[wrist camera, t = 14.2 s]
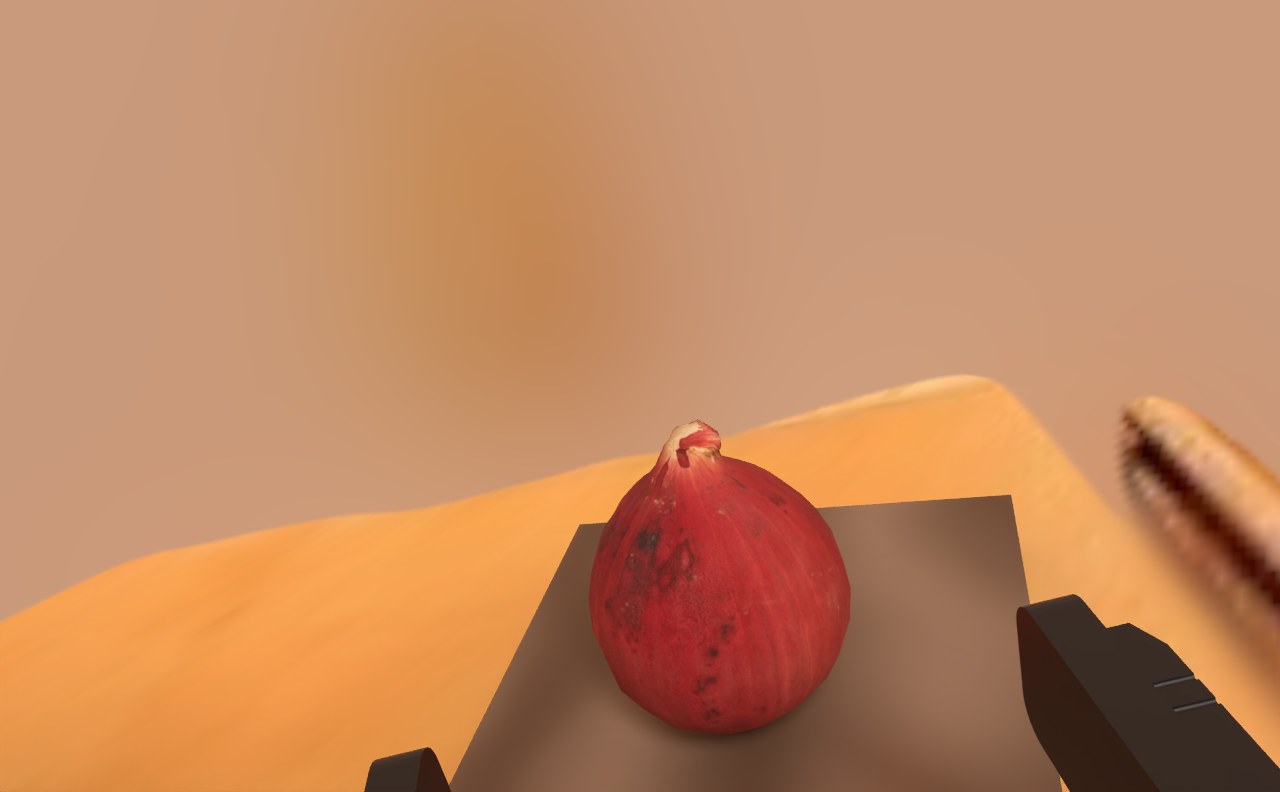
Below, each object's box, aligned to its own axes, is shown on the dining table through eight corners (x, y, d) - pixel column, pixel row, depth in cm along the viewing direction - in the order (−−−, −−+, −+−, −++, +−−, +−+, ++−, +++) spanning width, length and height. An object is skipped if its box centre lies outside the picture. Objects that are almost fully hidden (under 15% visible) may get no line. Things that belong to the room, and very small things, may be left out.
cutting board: (286, 1247, 17) (246, 1190, 17) (592, 566, 35) (579, 524, 34) (1160, 1417, 13) (1158, 1351, 12) (1015, 544, 30) (1010, 495, 30)
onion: (762, 862, 20) (683, 538, 17) (582, 746, 24) (491, 467, 21) (915, 690, 23) (874, 392, 20) (734, 614, 28) (675, 355, 24)
